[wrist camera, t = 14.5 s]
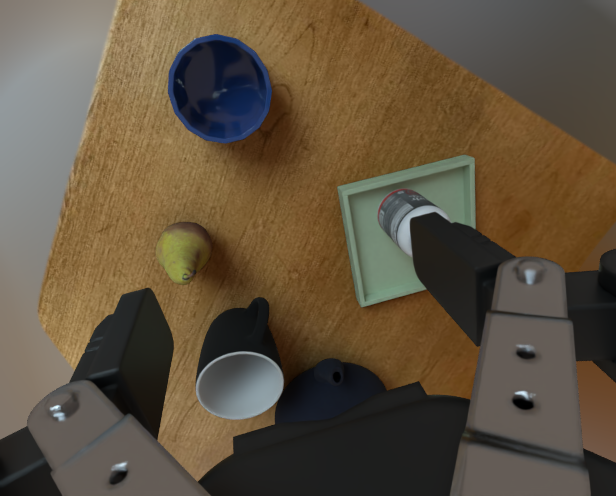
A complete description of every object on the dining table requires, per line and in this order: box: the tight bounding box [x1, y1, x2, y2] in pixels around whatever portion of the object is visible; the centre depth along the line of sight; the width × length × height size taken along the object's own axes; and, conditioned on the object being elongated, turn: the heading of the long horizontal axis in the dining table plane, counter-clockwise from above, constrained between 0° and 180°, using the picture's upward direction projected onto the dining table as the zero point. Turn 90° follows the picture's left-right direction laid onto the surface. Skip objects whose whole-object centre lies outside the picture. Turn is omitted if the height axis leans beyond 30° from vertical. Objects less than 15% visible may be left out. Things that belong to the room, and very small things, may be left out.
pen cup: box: [168, 34, 272, 143], centre depth 37 cm, size 8×8×6 cm
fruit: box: [156, 222, 213, 285], centre depth 39 cm, size 6×6×12 cm
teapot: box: [275, 358, 387, 424], centre depth 52 cm, size 25×16×12 cm, turn 6°
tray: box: [337, 155, 476, 307], centre depth 48 cm, size 15×15×2 cm
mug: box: [196, 297, 284, 419], centre depth 45 cm, size 12×9×10 cm
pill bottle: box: [377, 188, 452, 258], centre depth 43 cm, size 6×6×10 cm
